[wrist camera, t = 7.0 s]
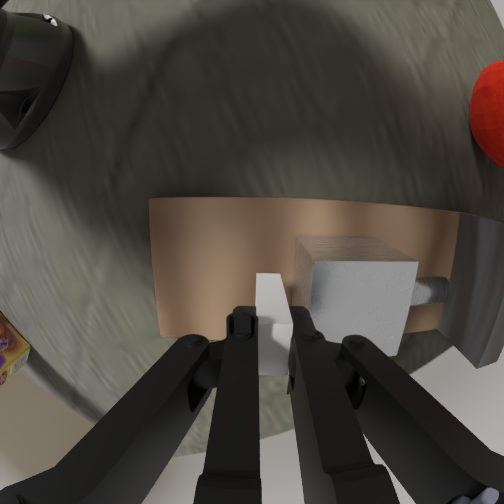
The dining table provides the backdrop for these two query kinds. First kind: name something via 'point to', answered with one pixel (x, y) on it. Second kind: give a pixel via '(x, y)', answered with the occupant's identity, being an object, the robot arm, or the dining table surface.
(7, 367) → the candy box
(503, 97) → the apple
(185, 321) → the rail
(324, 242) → the grey slider block
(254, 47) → the dining table surface
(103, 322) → the dining table surface
